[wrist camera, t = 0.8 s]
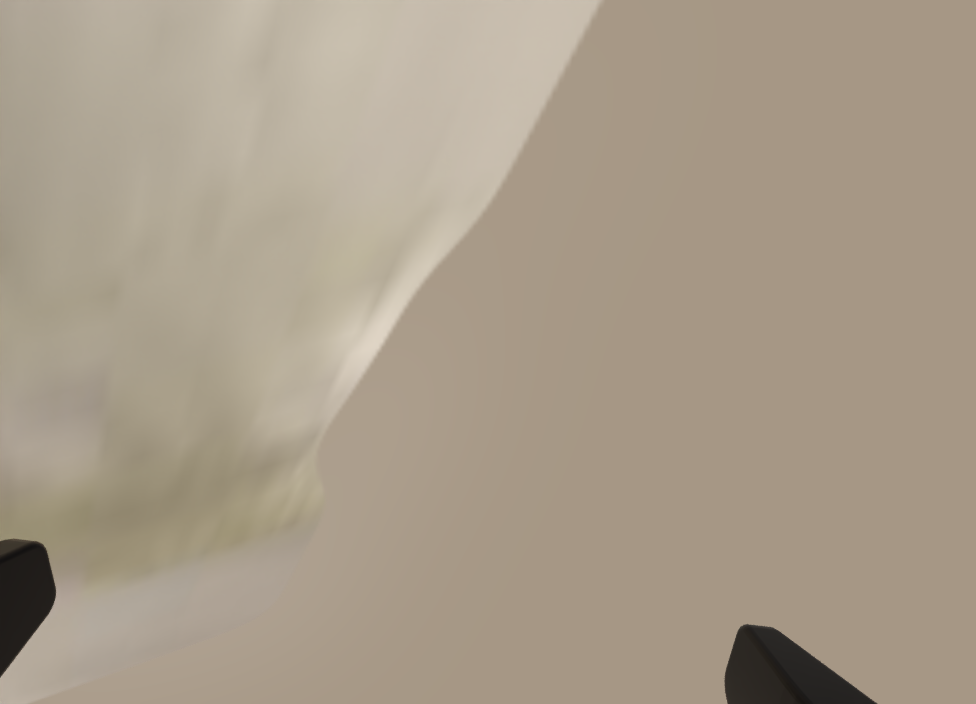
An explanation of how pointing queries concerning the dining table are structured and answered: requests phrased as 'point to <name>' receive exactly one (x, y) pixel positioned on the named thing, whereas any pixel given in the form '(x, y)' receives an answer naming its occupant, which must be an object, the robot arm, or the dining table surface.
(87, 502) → the dining table surface
